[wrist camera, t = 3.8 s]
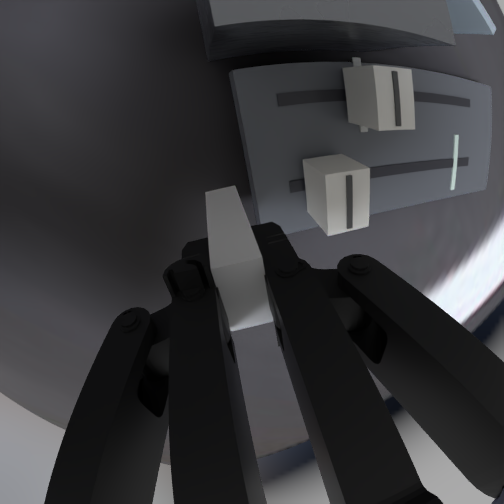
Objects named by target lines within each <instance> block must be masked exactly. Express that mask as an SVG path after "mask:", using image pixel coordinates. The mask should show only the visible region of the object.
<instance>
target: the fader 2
mask: <svg viewBox="0 0 504 504" xmlns="http://www.w3.org/2000/svg"><path fill="white" fill-rule="evenodd" d="M342 69H343V76H344V84H345V92H346V101H347V110H348V121H349V123H353V124H357V125H360V126H364V127H368V128H371V129H374V130H378V131H385V130H413V129H415V109H414V93H413V81H412V71H411V69H405V68H397V67H387V66H376V65H370V66H357V67H347V68H342Z"/></svg>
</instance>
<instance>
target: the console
mask: <svg viewBox="0 0 504 504" xmlns="http://www.w3.org/2000/svg"><path fill="white" fill-rule="evenodd" d="M352 61H353V62H303V63H287V64H275V65H266V66H257V67H250V68H243V69H236V70H232V71H231V72H230V73H229V78H230V83H231V88H232V94H233V99H234V104H235V109H236V114H237V119H238V125H239V130H240V135H241V140H242V146H243V151H244V156H245V162H246V167H247V172H248V178H249V183H250V189H251V194H252V199H253V205H254V210H255V216H256V221H257V225H259V224H263V223H268V222H274V223H276V224H277V225H279V226H281V228H282V230H283V232H284V234H289V233H293V232H298V231H302V230H306V229H310V228H315V227H319V225H318V224H317V222H316V221H315V220H314V219H313V218H312V216H311V215H310V214H309V213H308V211H307V200H306V189H305V178H304V169H303V159H309V158H315V157H322V156H329V155H336V154H343V155H345V156H347V157H349V158H351V159H353V160H355V161H357V162H359V163H361V164H363V165H365V166H367V167H369V168H370V204H369V215H372V214H376V213H380V212H385V211H389V210H394V209H398V208H403V207H407V206H412V205H416V204H421V203H425V202H430V201H435V200H439V199H444V198H448V197H453V196H458V195H462V194H467V193H472V192H476V191H481V190H486V185H487V179H488V171H489V162H490V151H491V135H492V94H491V86H488V85H484V84H481V83H478V82H474V81H471V80H467V79H464V78H460V77H456V76H452V75H447V74H443V73H438V72H433V71H428V70H422V69H416V68H410V67H403V66H394V65H385V64H374V63H361V59H360V58H356V57H352ZM370 65H376V66H387V67H397V68H405V69H411V71H412V81H413V93H414V109H415V129H413V130H385V131H378V130H374V129H371V128H368V127H364V126H360V125H357V124H353V123H349V121H348V110H347V101H346V92H345V84H344V76H343V69H342V68H347V67H357V66H370Z"/></svg>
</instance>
